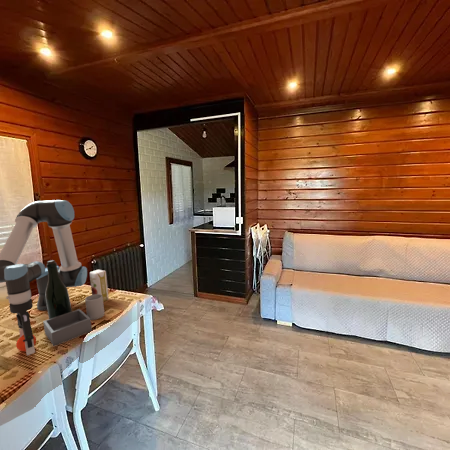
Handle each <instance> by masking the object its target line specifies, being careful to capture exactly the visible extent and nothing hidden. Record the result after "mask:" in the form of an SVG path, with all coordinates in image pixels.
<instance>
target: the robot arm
mask: <svg viewBox="0 0 450 450" xmlns="http://www.w3.org/2000/svg"><path fill="white" fill-rule="evenodd" d="M75 216H76V215H75V210H74V207H73V205H72V203H70V202H69V200H65V199H64V200H61V199H56V200H55V199H52V200H37V201H34V202H31V203H29V204H27V205H26V206H25V207H23V208H22V209H21V210H20V211H19V212H18V214H17V215H16V217H15V219H14V222H15V224H14V226H13V228H12V230H11V232H10V234H9V236H8V237H7V239H6V240H5V243H4V245H3V247H2V249H1V251H0V283H1V284H2V283H5V287H6V294H7V296H6V297H5V299H7V300H8V303H9V311H10V313H11V314H16V321H17V326H18V332H19V338H20V337H21V336H23V335H24V337H25V340H23V342H25V347H26V351H25V352H26V356H30V355H32V354H34V353H36V350H35V346H34V342H33V339H34V337H33V335H34V334H33V330H32V325H31V324H32V323H31V319H30V313H29V310H31V309H32V308H33V307H34V303H33V299H32V290H31V286H30V283H31V282H33V281H34V280H36V285H37V289H38V298H37V304H36V308H37V310H39V311H48V310H47V304H46V296H45V293H46V288H47V284H48V270H47V267H46V266H45V264H44V263H43V262H41V261H31V262H29V263H18V261H19V260H20V257H21V256H22V253H23V250H24V249H25V247H26V244H27V242H28V240H29V238H30V236H31V233H32V232H33V229H35V228H36V227H37V226H38V224H39V223H44V222H45V223H47V226H48V228H51V229H52V233H53V237H54V242H55V245H56V248H57V252H58V257H59V260H60V264H61V265H60V266H59V265H57V269H58V273H59V276H60V278H61V280H62V281H63V283H64V284H65V286H66V288H73V287H74V288H77V287H82V286H83V285H84V284H85V283H86V281H87V278H88V268H87V267H86V266H82V262H80V261H79V260H78V256H77V251H76V248H75V243H74V239H73V233H72V229H71V226H70V225H72V223H73V220H74V219H75Z"/></svg>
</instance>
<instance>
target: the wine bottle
mask: <svg viewBox="0 0 450 450" xmlns="http://www.w3.org/2000/svg"><path fill="white" fill-rule="evenodd" d="M57 266H58V263H57V262H56V260H53V259H52V260H48V261H46V268H47V270H48V284H47V288H46V293H45V296H46V304H47V310H46V311H47V315H48V319H51V318H54V317H57V316H60V315H63V314H66V313H69V312H72V311H73V309H72V305H71V299H70V295H69V290H68V287H66V286H65V284H64V283H63V281H62V280H61V278H60V276H59V273H58V269H57Z"/></svg>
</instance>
